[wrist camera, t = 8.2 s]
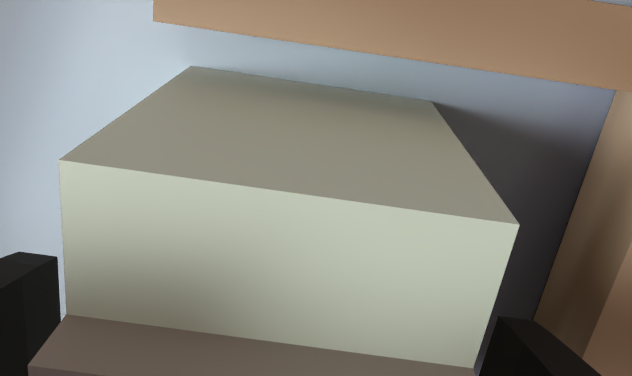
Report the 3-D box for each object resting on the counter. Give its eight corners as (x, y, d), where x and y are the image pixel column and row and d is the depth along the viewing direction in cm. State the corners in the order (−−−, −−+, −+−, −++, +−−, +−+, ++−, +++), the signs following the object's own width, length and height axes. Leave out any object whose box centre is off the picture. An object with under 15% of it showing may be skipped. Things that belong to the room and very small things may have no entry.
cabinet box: (373, 353, 12) (404, 669, 7) (178, 327, 12) (50, 627, 7) (430, 100, 10) (550, 267, 4) (191, 65, 10) (12, 192, 4)
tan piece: (525, 475, 14) (585, 636, 10) (-101, 395, 13) (-242, 536, 10) (712, 20, 9) (918, 49, 6) (-211, -122, 9) (-527, -172, 6)
